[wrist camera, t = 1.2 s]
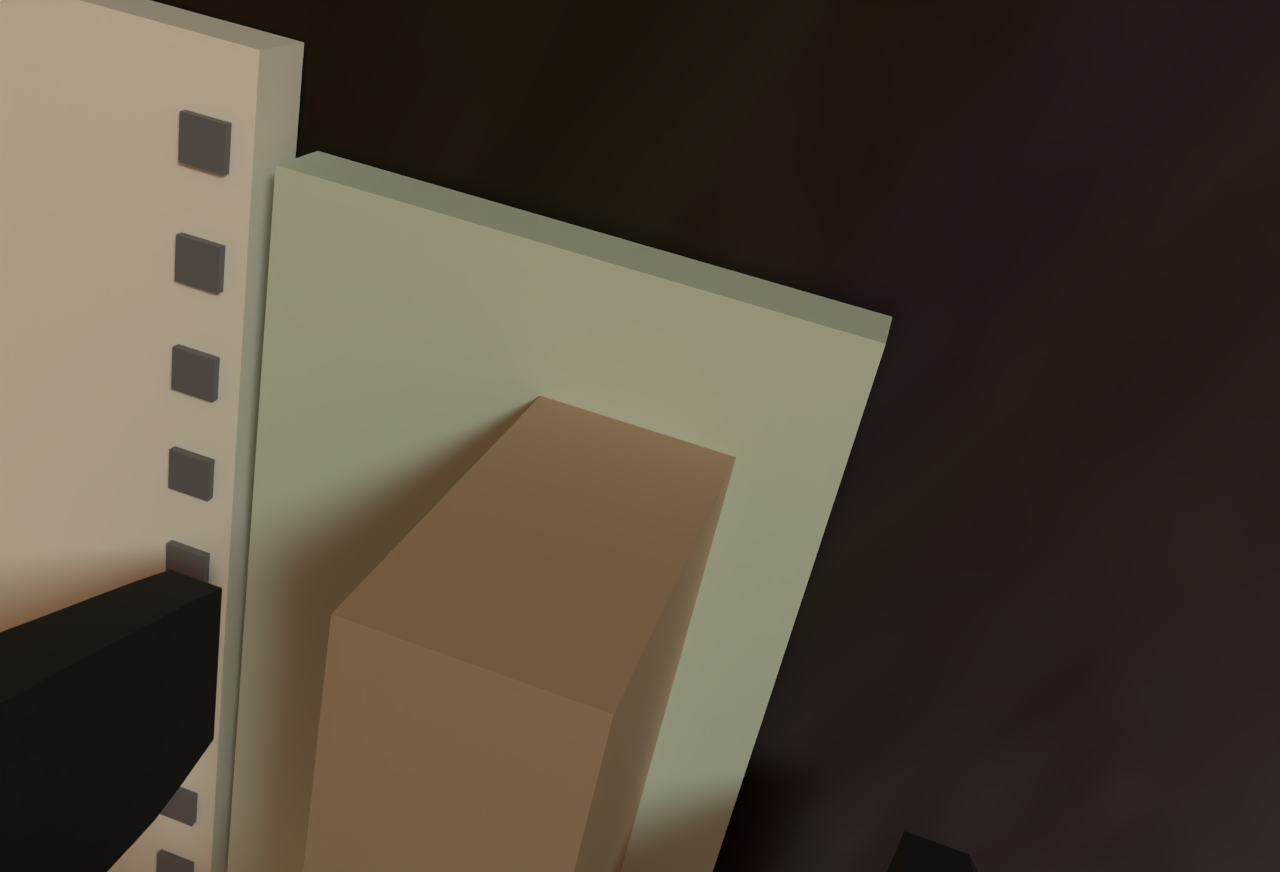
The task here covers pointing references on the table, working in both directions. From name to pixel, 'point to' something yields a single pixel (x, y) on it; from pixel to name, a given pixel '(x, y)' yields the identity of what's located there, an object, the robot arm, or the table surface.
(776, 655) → the stub
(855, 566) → the table surface
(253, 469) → the board
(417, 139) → the table surface
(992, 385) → the table surface
